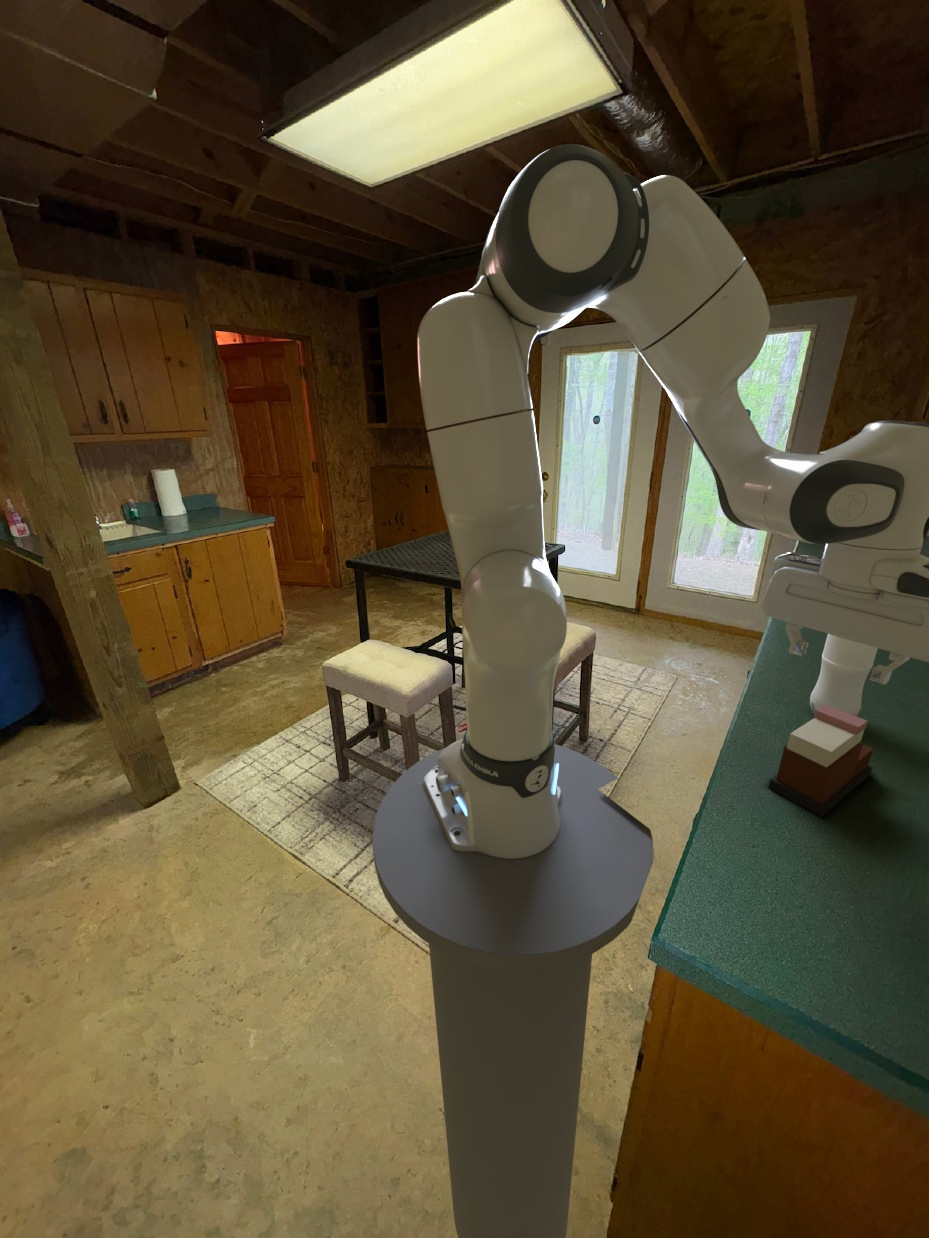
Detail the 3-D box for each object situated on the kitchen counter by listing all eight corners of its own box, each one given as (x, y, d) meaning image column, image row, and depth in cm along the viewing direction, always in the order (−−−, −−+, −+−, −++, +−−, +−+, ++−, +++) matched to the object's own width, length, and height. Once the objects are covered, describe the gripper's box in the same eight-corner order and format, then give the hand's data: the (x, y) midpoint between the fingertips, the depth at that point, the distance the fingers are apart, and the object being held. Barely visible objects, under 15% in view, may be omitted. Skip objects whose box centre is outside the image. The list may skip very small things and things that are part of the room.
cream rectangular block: (828, 768, 63) (835, 745, 62) (785, 747, 68) (790, 725, 66) (862, 742, 68) (869, 719, 67) (819, 724, 72) (825, 702, 71)
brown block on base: (821, 816, 65) (835, 771, 63) (768, 787, 71) (778, 745, 68) (870, 774, 73) (884, 733, 70) (818, 751, 78) (829, 711, 75)
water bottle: (798, 705, 91) (830, 578, 82) (839, 706, 90) (876, 578, 81) (821, 727, 84) (858, 591, 75) (865, 728, 83) (909, 591, 74)
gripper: (764, 552, 65) (743, 645, 70) (969, 591, 49) (924, 708, 54) (788, 546, 68) (767, 635, 73) (989, 580, 52) (944, 692, 57)
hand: (835, 666), depth 64 cm, fingers open, 8 cm apart
